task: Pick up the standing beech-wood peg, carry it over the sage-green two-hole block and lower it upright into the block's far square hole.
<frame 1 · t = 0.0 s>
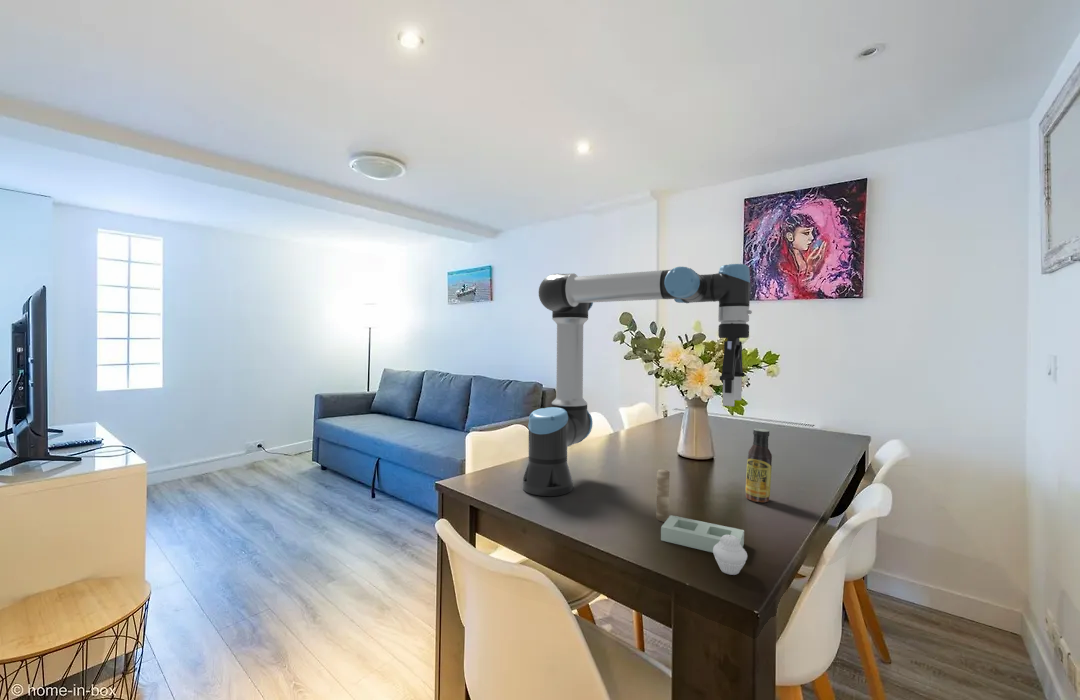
hand: (732, 402, 120), 28 cm above the table, fingers open, 13 cm apart
sauce bottle: (758, 500, 125), on the table
muffin: (729, 571, 86), on the table
peg: (662, 519, 111), on the table
hole block: (702, 542, 99), on the table
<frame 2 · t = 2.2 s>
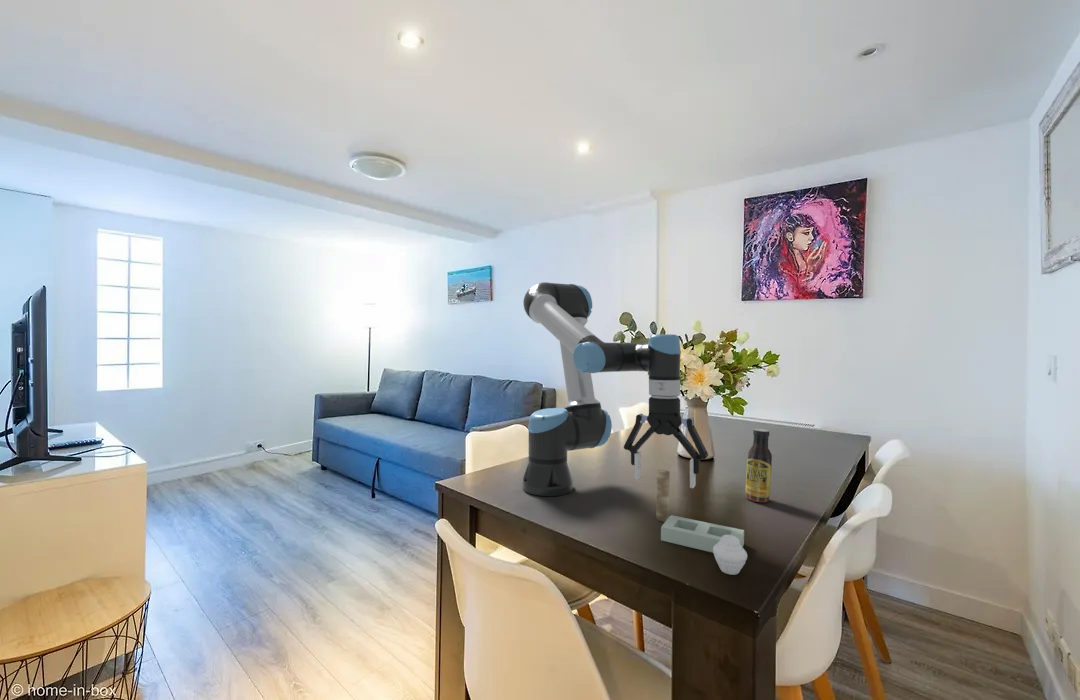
hand: (664, 482, 111), 9 cm above the table, fingers open, 13 cm apart
nothing on the table moved.
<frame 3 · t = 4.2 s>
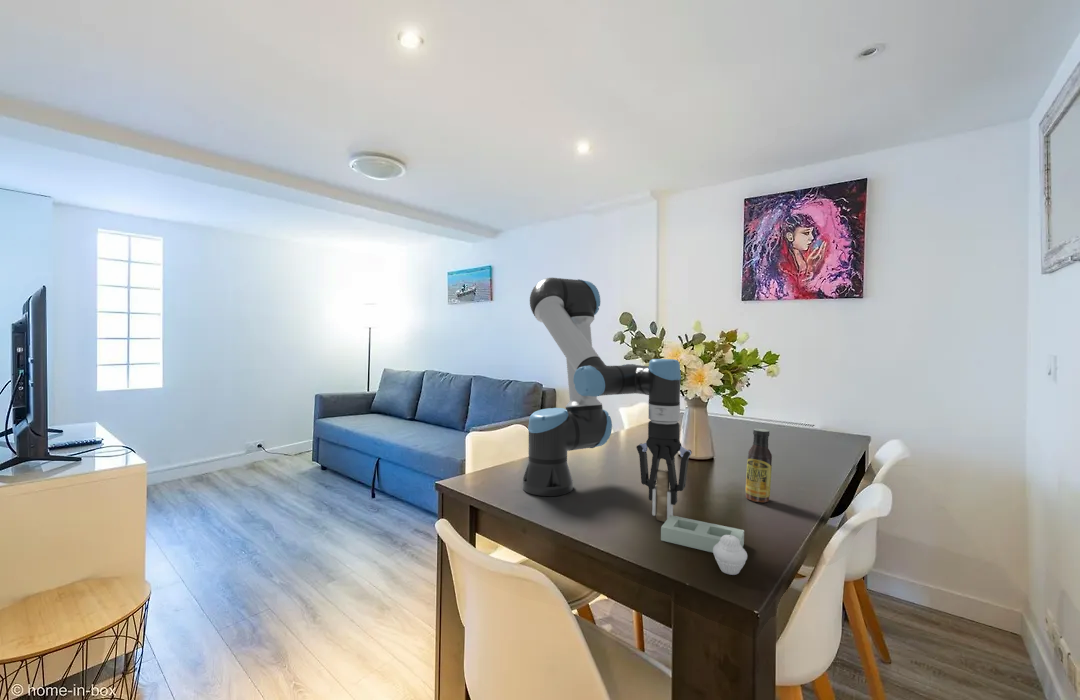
hand: (662, 515, 111), 1 cm above the table, fingers closed on peg, 3 cm apart
peg: (662, 519, 111), on the table, touching gripper
everything else where it was.
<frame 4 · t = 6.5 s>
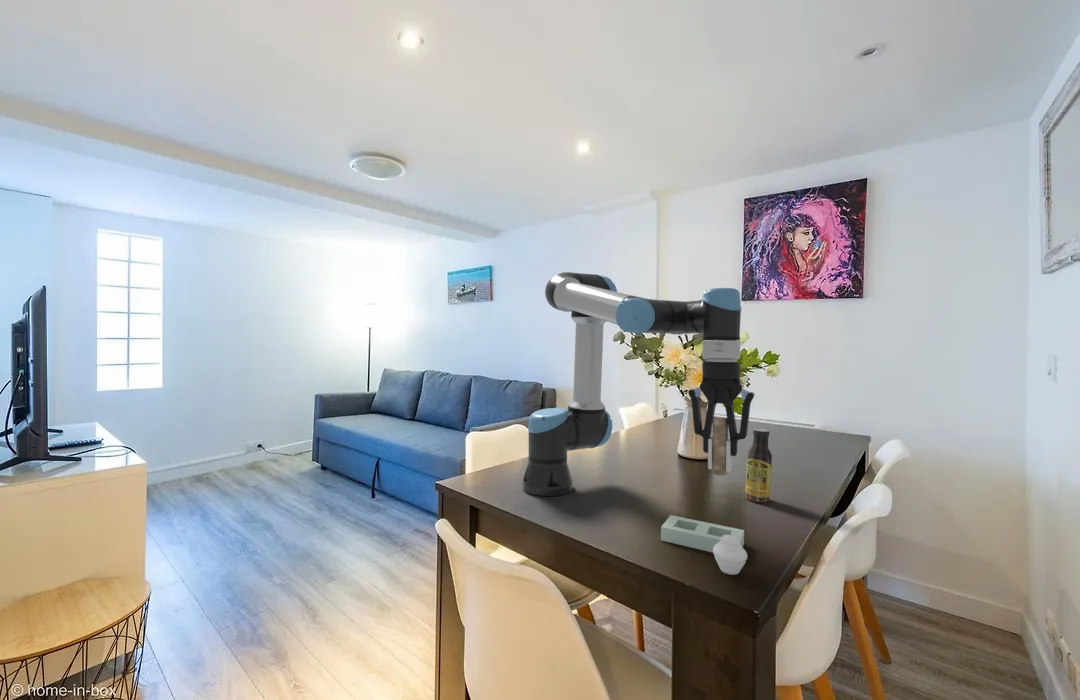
hand: (719, 468, 97), 17 cm above the table, fingers closed on peg, 3 cm apart
peg: (719, 473, 97), point 16 cm above the table, touching gripper
everything else where it was.
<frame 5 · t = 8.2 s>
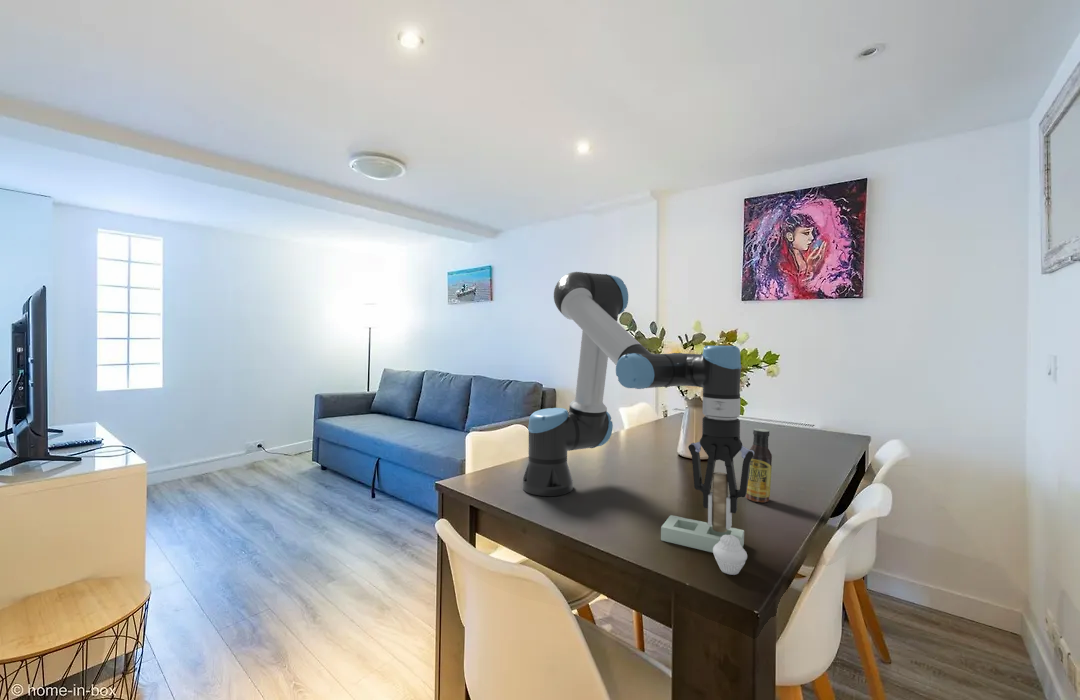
hand: (719, 524, 97), 5 cm above the table, fingers closed on peg, 3 cm apart
peg: (719, 529, 97), point 4 cm above the table, touching gripper
everything else where it was.
when the fingers open (3 cm above the table, at t = 9.1 s): peg drops 2 cm, on the table.
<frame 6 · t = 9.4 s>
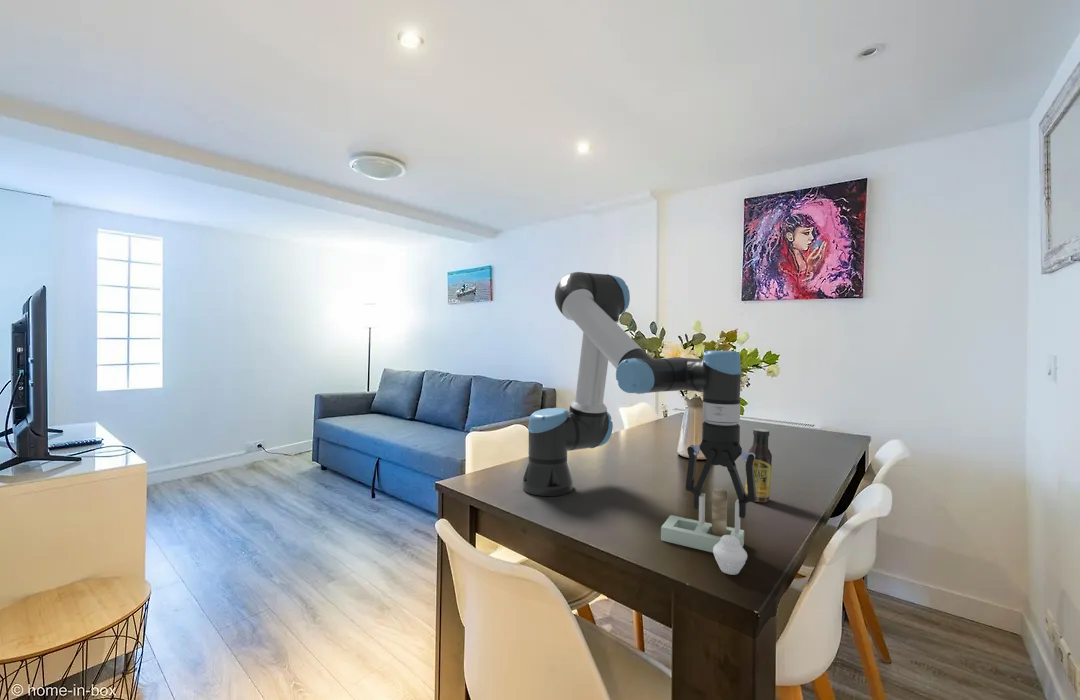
hand: (719, 527, 97), 4 cm above the table, fingers open, 7 cm apart
peg: (718, 545, 97), on the table
everything else where it was.
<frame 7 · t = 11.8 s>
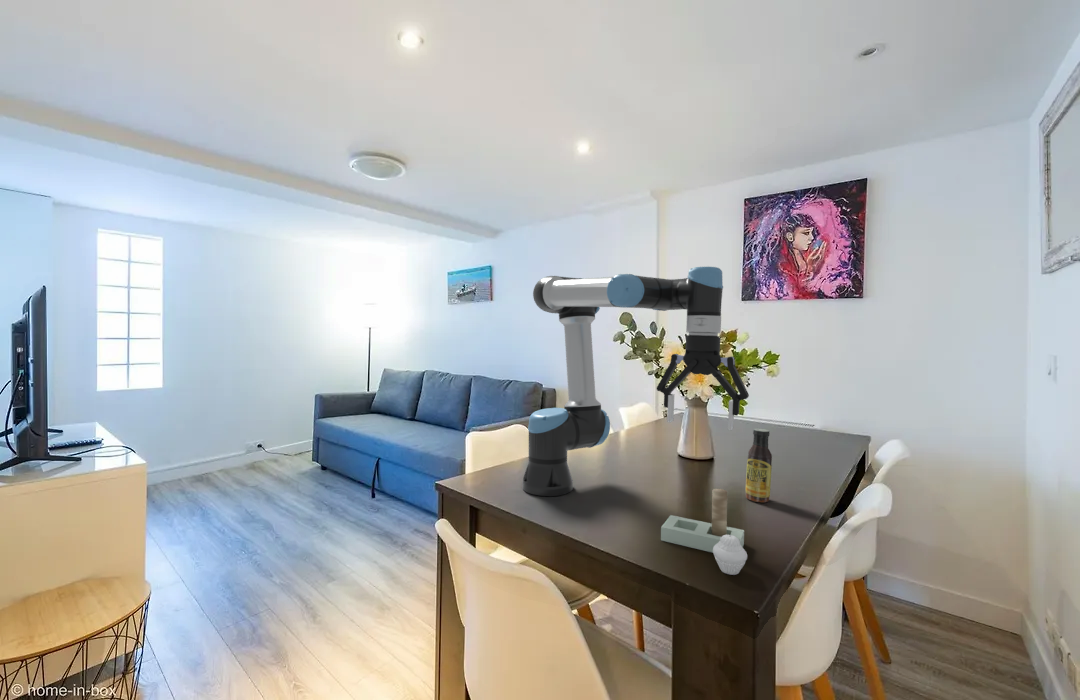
hand: (699, 425, 105), 25 cm above the table, fingers open, 13 cm apart
nothing on the table moved.
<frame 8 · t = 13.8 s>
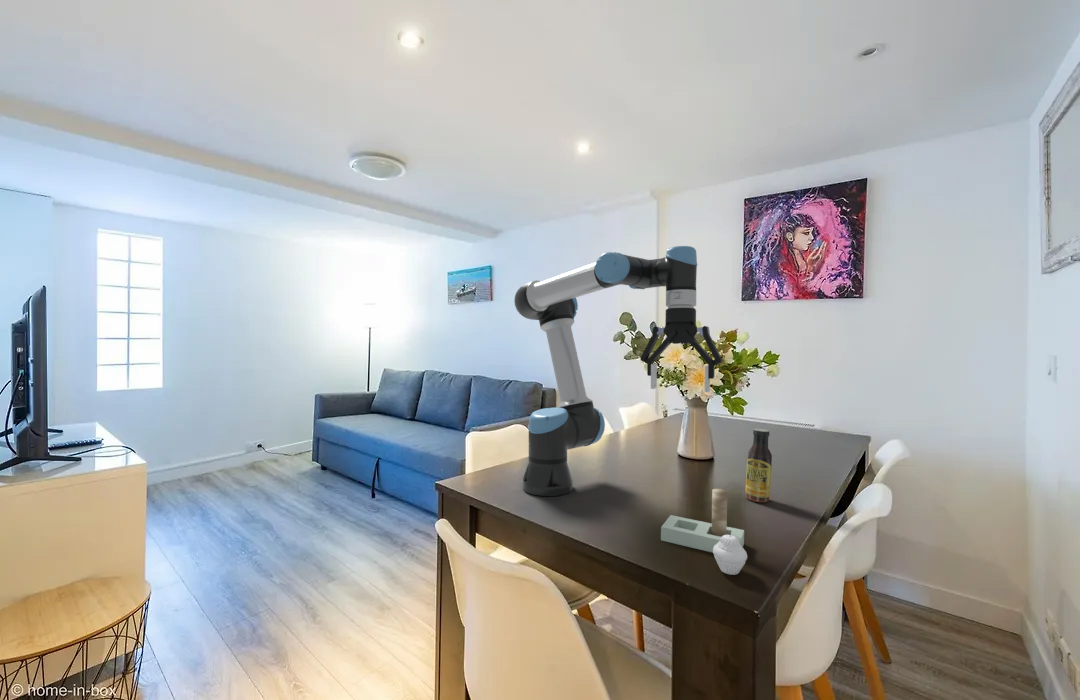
hand: (679, 390, 116), 32 cm above the table, fingers open, 13 cm apart
nothing on the table moved.
at the end: peg 0.0 cm from the target spot on the hole block, point 0.0 cm above the hole block's base; peg tilted 0°; the gripper is holding nothing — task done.
